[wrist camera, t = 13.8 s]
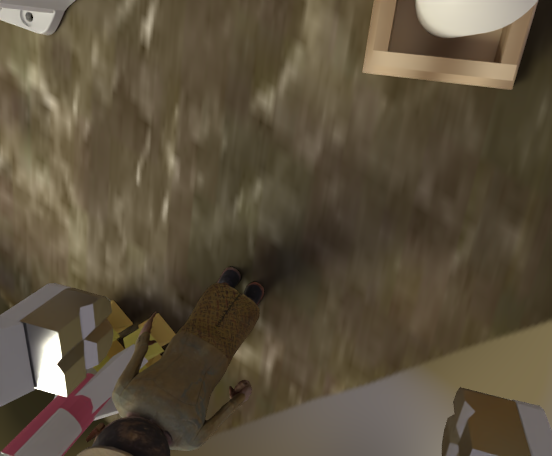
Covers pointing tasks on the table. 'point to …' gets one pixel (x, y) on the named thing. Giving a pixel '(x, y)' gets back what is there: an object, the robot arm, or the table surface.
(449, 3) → the roll
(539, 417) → the robot arm
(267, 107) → the table surface
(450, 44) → the holder
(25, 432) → the toy rocket
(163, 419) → the figurine
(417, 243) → the table surface
